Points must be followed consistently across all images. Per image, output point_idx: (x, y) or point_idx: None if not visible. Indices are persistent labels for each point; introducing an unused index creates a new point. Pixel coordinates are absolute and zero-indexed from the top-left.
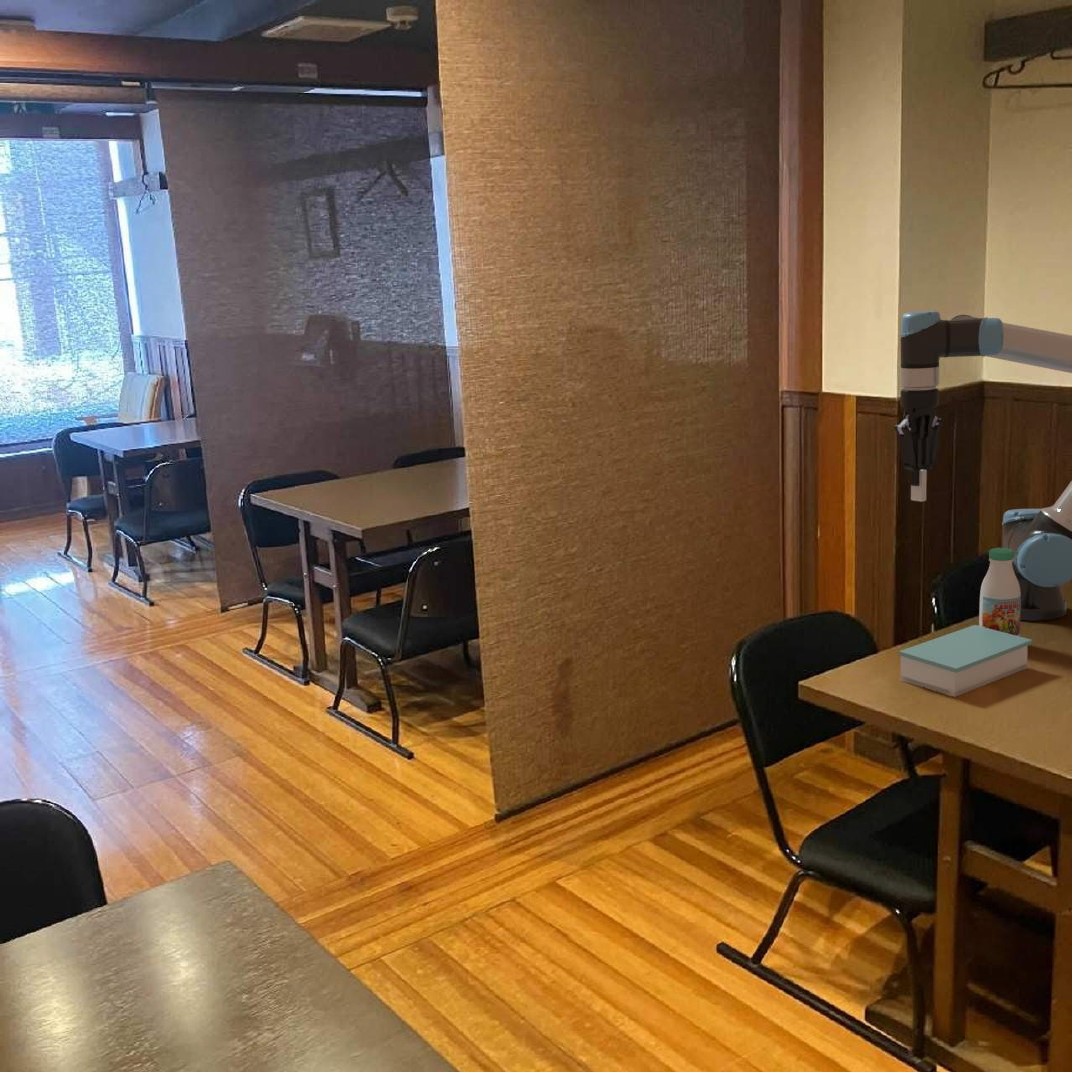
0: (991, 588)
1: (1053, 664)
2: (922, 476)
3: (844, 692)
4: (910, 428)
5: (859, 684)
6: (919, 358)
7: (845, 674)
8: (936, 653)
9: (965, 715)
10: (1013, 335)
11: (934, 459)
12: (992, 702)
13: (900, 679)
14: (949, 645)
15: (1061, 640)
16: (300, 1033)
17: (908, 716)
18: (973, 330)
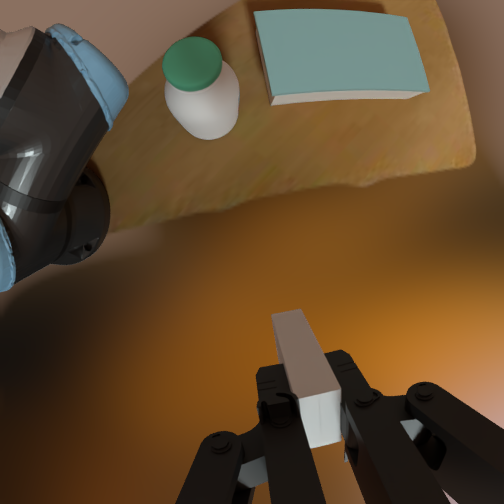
0: (235, 76)
1: (215, 27)
2: (325, 370)
3: (462, 119)
4: None
5: (443, 123)
6: None
7: (438, 155)
8: (398, 55)
9: (405, 7)
10: None
11: (205, 458)
12: (365, 3)
13: (407, 98)
14: (367, 60)
15: (128, 88)
16: None
17: (445, 41)
18: None
